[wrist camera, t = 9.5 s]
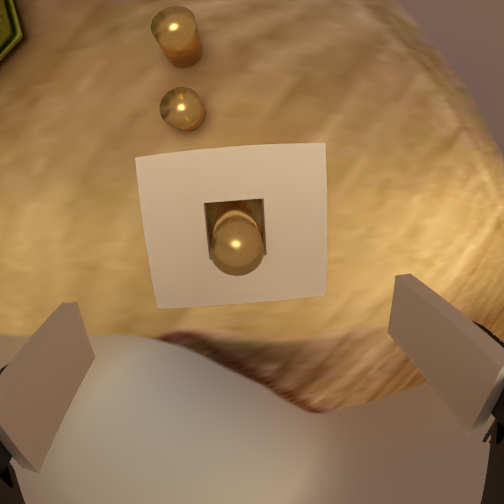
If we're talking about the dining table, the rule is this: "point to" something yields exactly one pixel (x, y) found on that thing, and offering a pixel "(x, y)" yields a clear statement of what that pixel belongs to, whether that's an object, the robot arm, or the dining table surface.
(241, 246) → the pin long
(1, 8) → the flower pot
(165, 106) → the pin short
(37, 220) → the dining table surface
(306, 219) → the white block with hole
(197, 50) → the pin medium
